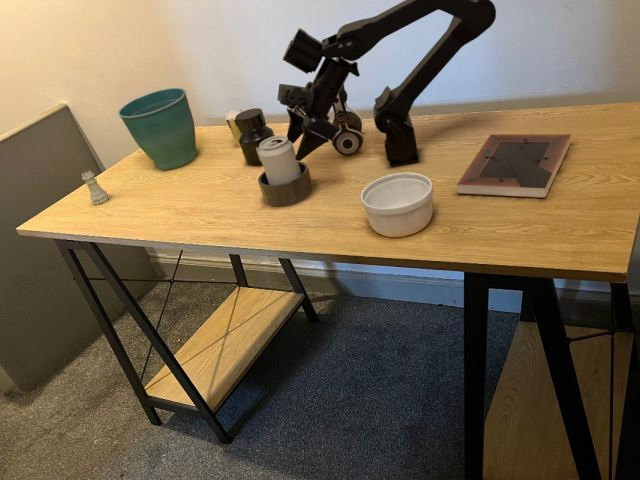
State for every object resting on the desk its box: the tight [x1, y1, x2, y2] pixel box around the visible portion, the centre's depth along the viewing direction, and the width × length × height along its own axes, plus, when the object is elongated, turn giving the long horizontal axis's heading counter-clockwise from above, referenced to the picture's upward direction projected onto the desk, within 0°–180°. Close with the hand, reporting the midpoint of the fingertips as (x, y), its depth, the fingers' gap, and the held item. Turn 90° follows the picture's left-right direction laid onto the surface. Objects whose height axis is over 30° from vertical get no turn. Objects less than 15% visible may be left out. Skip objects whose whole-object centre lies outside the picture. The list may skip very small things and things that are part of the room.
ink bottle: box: [235, 107, 276, 167], centre depth 144 cm, size 10×9×12 cm
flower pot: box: [117, 87, 199, 171], centre depth 155 cm, size 18×18×17 cm
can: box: [259, 134, 302, 185], centre depth 124 cm, size 8×8×12 cm
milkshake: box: [224, 110, 242, 147], centre depth 156 cm, size 4×5×10 cm
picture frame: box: [456, 133, 572, 199], centre depth 114 cm, size 16×2×22 cm
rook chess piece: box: [81, 170, 110, 205], centre depth 147 cm, size 4×4×8 cm
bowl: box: [257, 161, 315, 208], centre depth 127 cm, size 11×11×5 cm
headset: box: [330, 58, 365, 157], centre depth 135 cm, size 17×8×20 cm, turn 1°
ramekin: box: [360, 171, 434, 238], centre depth 106 cm, size 13×13×7 cm
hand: (291, 153), depth 123 cm, fingers open, 9 cm apart
